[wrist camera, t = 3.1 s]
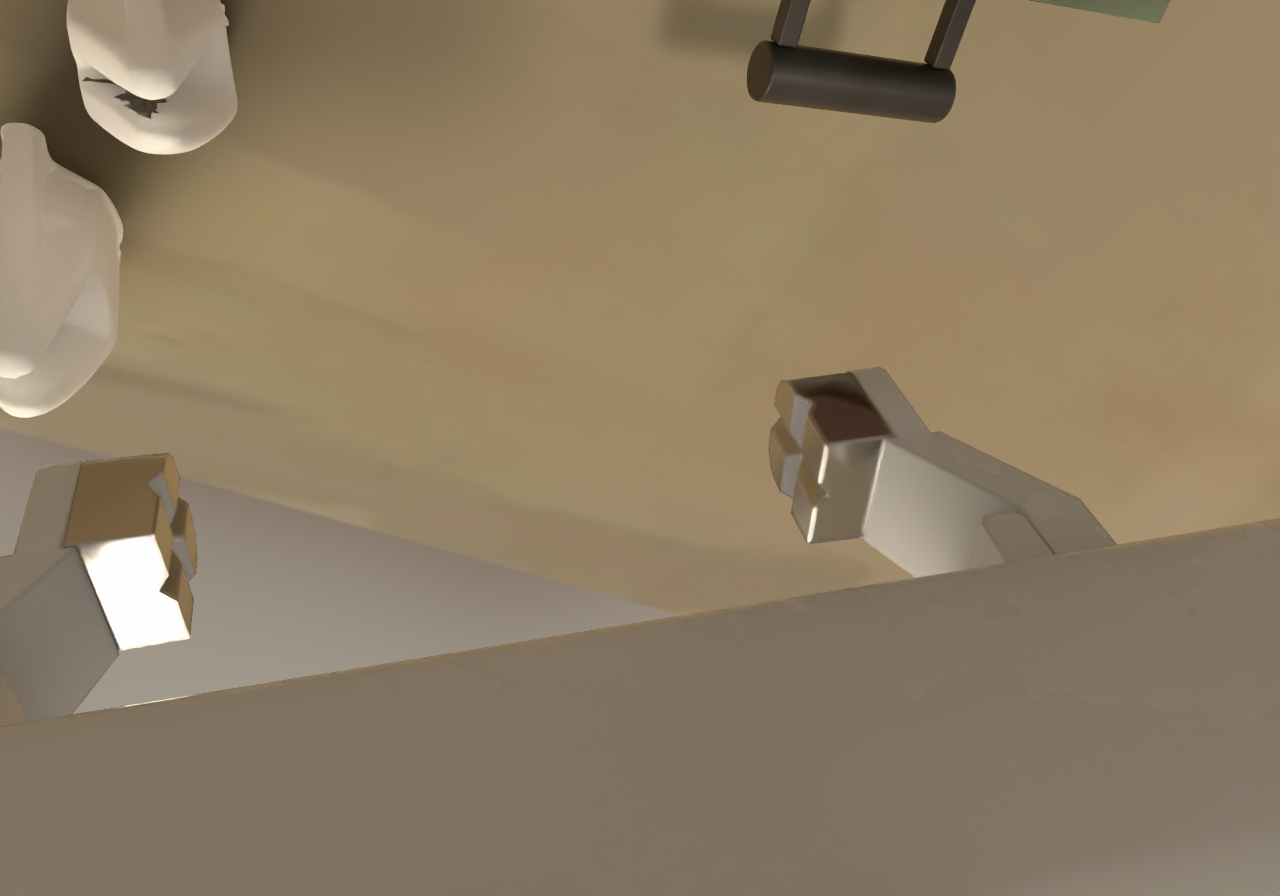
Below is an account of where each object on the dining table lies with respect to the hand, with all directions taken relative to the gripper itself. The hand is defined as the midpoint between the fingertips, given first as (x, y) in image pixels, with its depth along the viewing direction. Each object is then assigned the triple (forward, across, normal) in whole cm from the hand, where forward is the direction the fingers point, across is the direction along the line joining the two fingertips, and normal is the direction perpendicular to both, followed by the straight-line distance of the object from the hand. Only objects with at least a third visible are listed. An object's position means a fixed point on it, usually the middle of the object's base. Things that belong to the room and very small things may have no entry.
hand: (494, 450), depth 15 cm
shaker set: (+21, +8, +4) cm, 23 cm away
